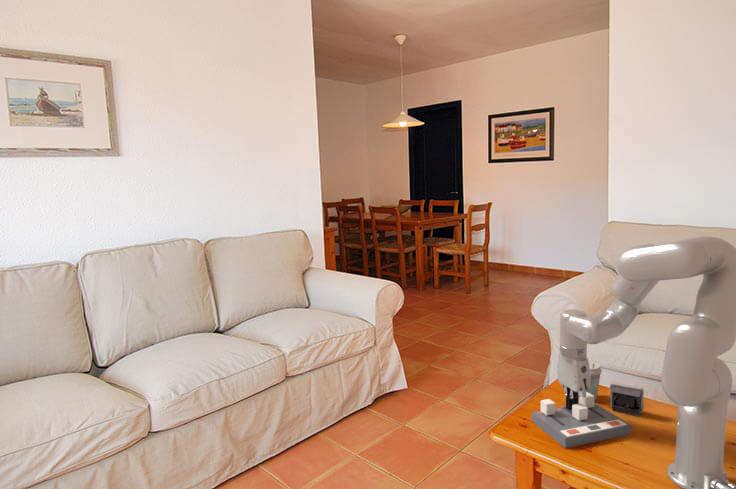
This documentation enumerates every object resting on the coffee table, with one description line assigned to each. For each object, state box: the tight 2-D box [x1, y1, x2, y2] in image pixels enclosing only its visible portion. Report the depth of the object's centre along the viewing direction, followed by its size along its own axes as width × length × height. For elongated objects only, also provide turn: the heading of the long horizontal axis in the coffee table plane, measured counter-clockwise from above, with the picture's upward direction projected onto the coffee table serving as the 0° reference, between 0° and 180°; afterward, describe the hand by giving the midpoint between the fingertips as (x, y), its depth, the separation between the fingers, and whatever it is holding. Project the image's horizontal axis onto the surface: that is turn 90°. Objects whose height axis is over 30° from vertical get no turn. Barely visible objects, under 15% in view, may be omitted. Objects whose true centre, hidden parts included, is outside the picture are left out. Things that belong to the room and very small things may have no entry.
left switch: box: [540, 398, 556, 416], centre depth 146 cm, size 3×3×4 cm
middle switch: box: [572, 403, 588, 420], centre depth 143 cm, size 3×3×4 cm
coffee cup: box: [578, 360, 603, 403], centre depth 161 cm, size 8×8×12 cm
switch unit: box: [531, 402, 632, 449], centre depth 143 cm, size 16×22×3 cm
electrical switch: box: [609, 382, 645, 417], centre depth 151 cm, size 9×5×9 cm, turn 57°
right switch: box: [578, 392, 595, 408], centre depth 150 cm, size 3×3×4 cm
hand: (571, 408), depth 146 cm, fingers closed
